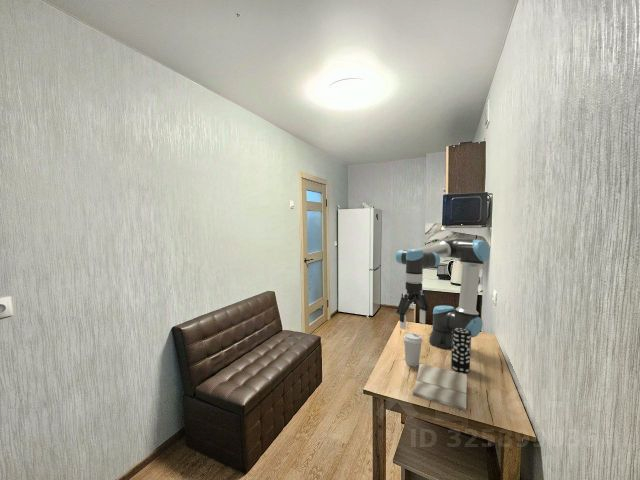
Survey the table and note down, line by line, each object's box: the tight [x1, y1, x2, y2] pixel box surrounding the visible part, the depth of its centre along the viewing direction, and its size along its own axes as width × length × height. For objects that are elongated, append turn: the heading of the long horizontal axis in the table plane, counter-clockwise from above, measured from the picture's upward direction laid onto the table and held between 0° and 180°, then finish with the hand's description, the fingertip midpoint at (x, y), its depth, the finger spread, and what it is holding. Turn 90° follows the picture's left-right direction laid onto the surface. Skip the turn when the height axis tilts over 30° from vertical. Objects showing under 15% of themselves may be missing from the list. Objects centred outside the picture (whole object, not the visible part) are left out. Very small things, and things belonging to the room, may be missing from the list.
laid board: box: [412, 380, 467, 412], centre depth 114 cm, size 20×10×1 cm, turn 61°
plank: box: [416, 363, 468, 395], centre depth 122 cm, size 20×9×1 cm, turn 61°
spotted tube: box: [450, 327, 472, 374], centre depth 135 cm, size 8×8×20 cm
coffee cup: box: [402, 332, 424, 367], centre depth 140 cm, size 10×10×15 cm
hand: (412, 325), depth 129 cm, fingers open, 13 cm apart
